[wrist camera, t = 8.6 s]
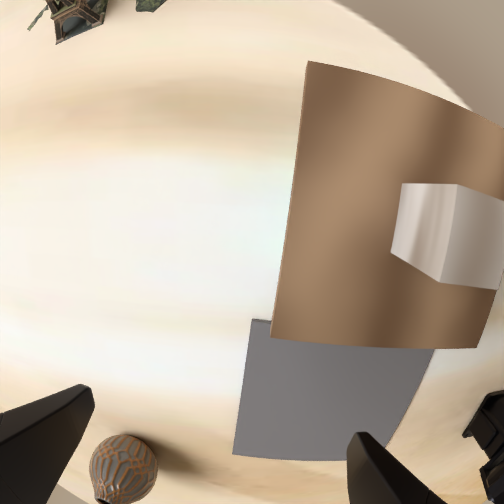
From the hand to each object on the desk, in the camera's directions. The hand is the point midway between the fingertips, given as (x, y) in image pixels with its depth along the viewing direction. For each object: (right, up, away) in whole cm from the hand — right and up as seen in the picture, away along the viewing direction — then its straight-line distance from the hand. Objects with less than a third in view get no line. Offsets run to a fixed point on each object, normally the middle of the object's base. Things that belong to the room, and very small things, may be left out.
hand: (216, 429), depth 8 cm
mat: (+8, -7, +13) cm, 17 cm away
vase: (-12, -15, +17) cm, 26 cm away
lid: (+9, +7, +5) cm, 13 cm away
